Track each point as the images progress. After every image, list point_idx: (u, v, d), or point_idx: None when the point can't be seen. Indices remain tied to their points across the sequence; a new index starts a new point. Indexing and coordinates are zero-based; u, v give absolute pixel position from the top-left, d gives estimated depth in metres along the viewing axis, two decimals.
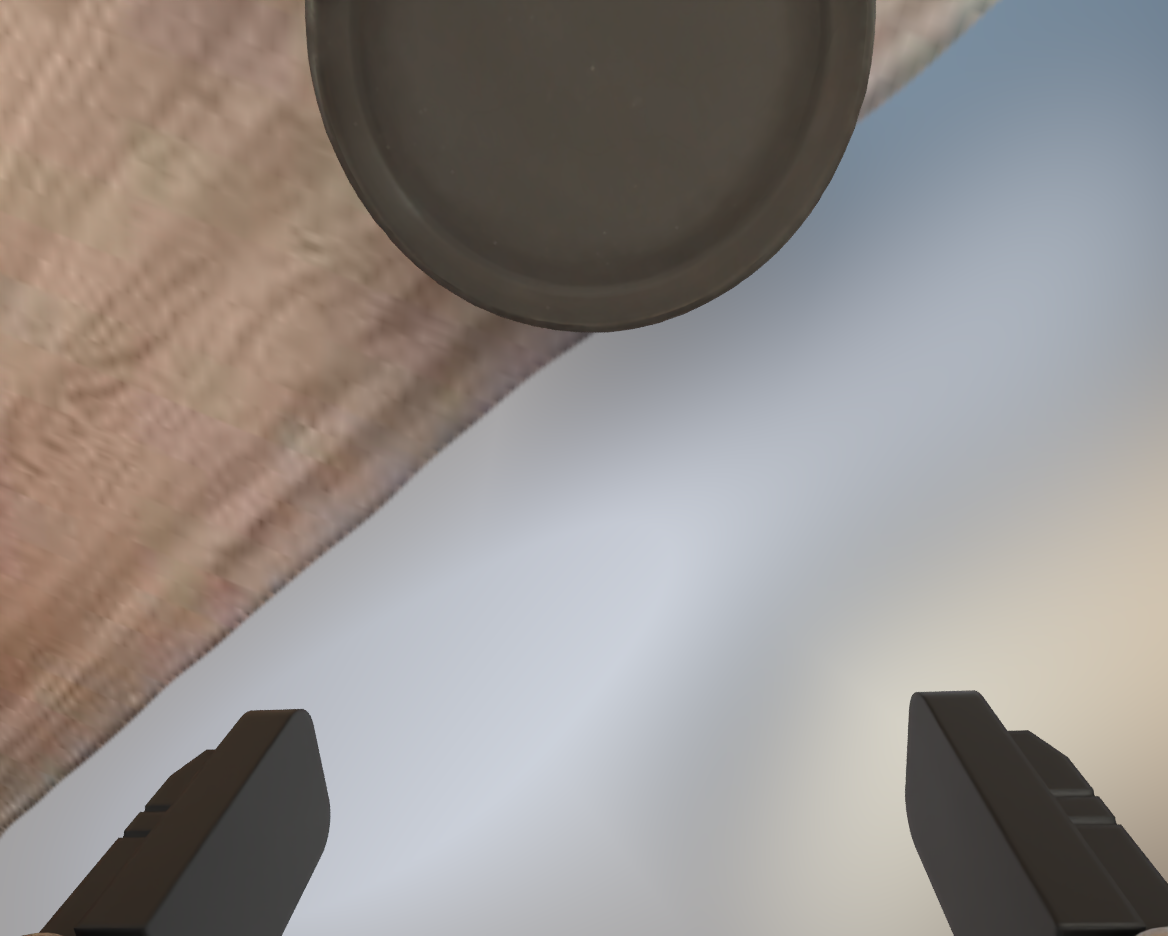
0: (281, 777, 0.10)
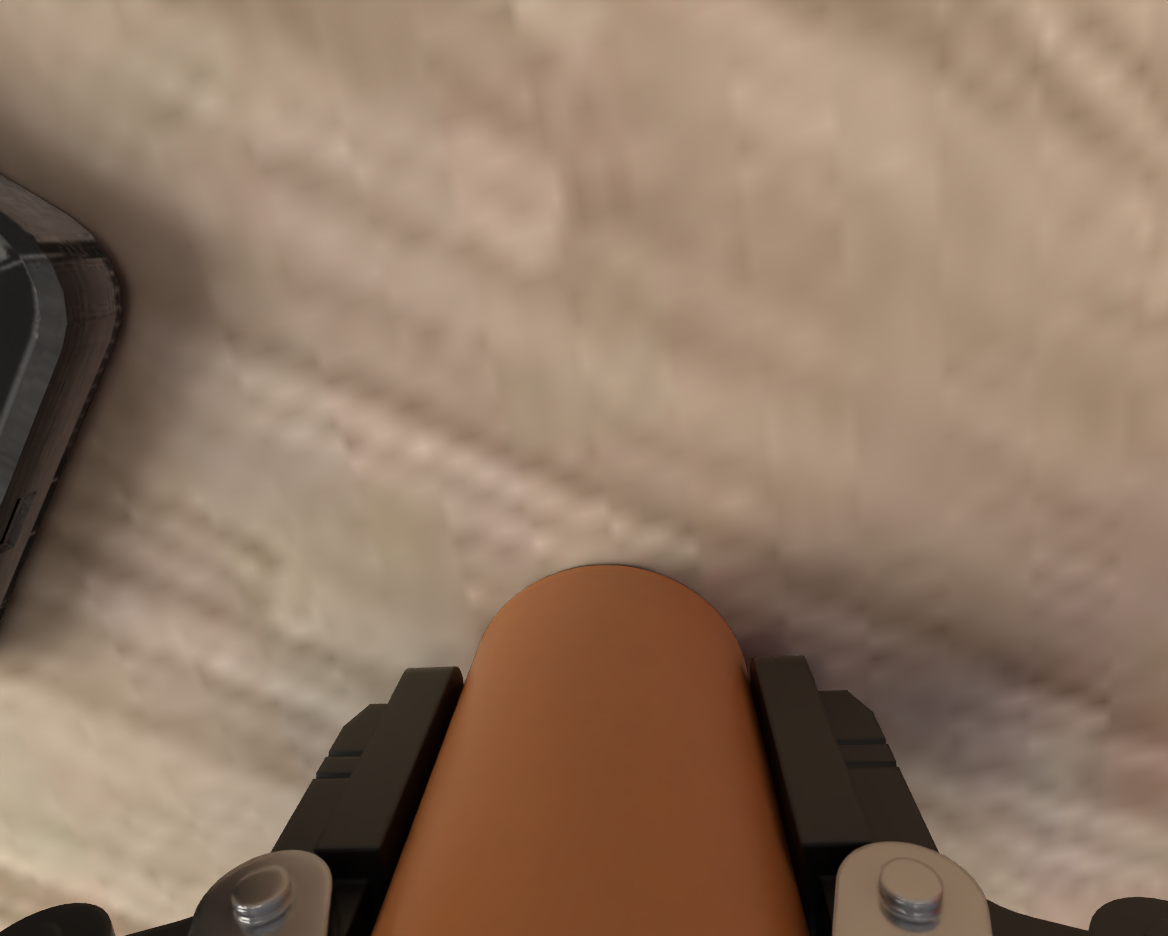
0: (447, 728, 0.11)
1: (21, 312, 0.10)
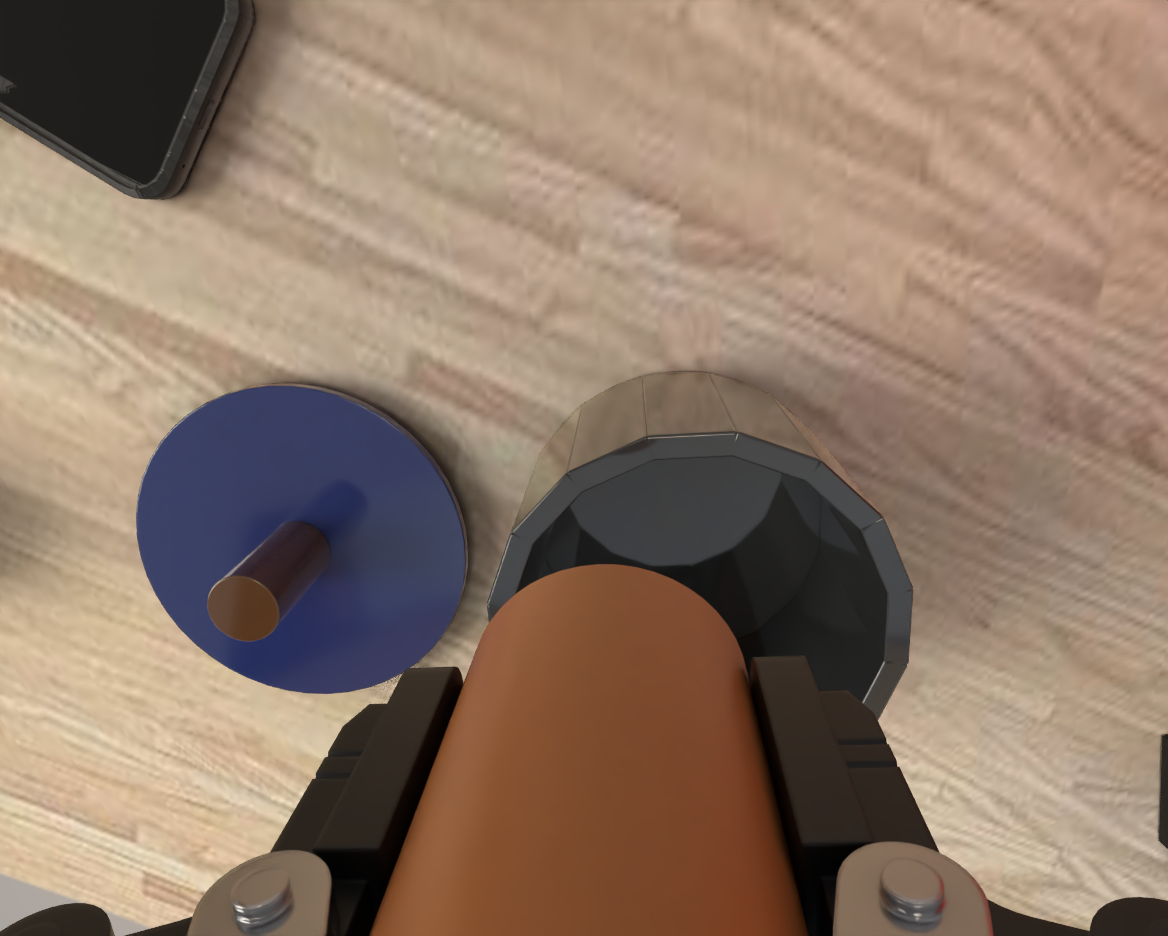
0: (446, 728, 0.11)
1: (219, 10, 0.25)
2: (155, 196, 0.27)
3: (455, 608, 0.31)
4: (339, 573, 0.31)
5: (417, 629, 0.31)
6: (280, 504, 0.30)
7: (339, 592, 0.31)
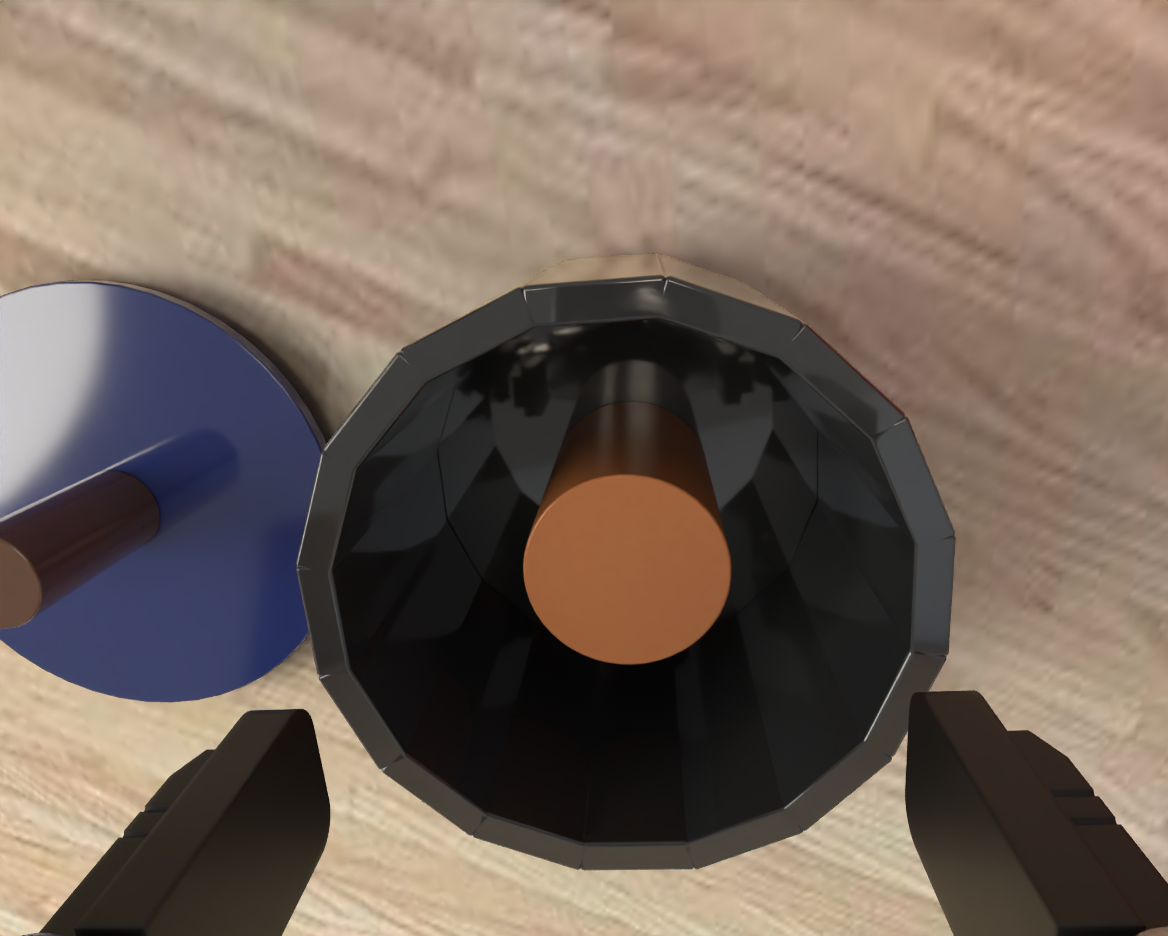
0: (281, 777, 0.10)
1: None
2: None
3: None
4: (173, 541, 0.23)
5: (281, 616, 0.24)
6: (88, 447, 0.22)
7: (175, 567, 0.23)
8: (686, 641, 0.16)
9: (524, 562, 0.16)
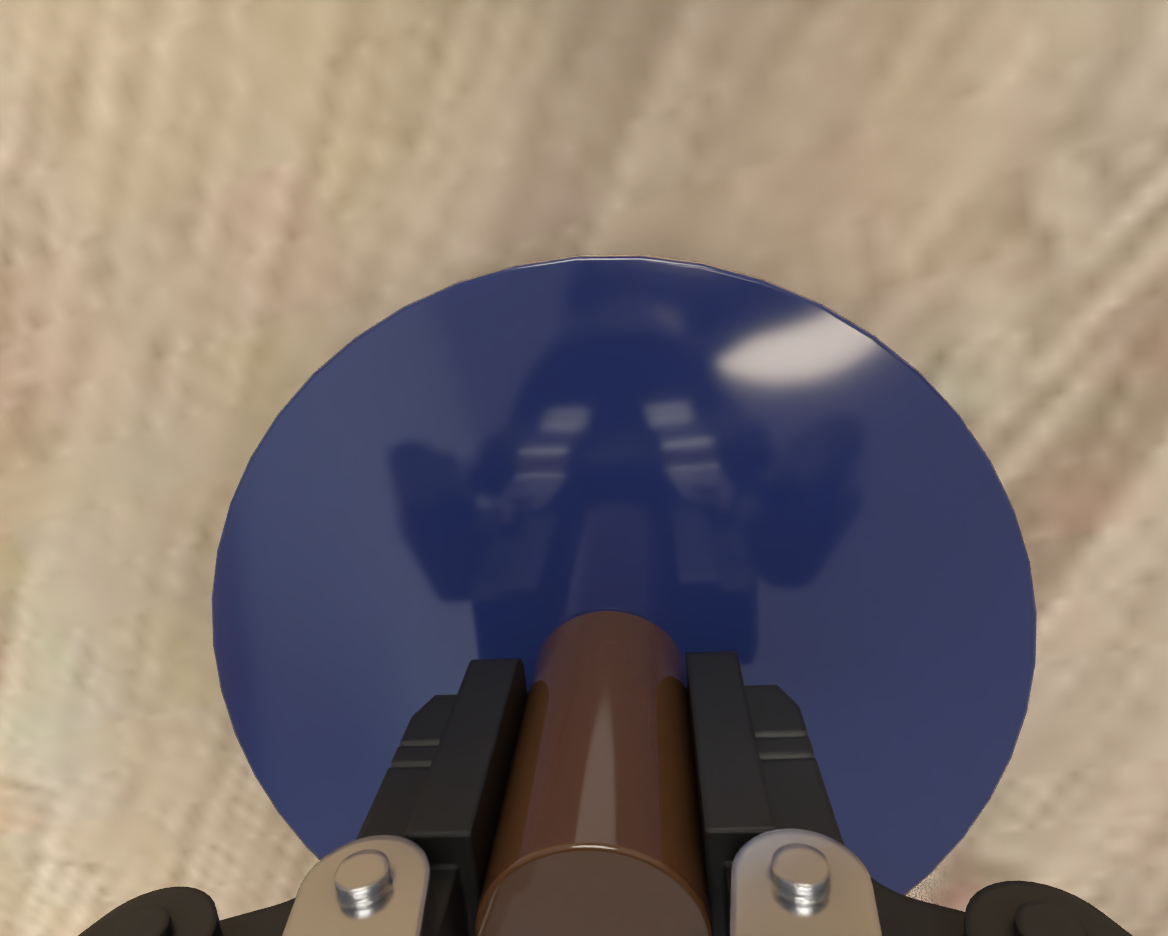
0: (514, 718, 0.11)
1: None
2: None
3: None
4: None
5: None
6: (730, 650, 0.12)
7: None
8: None
9: None
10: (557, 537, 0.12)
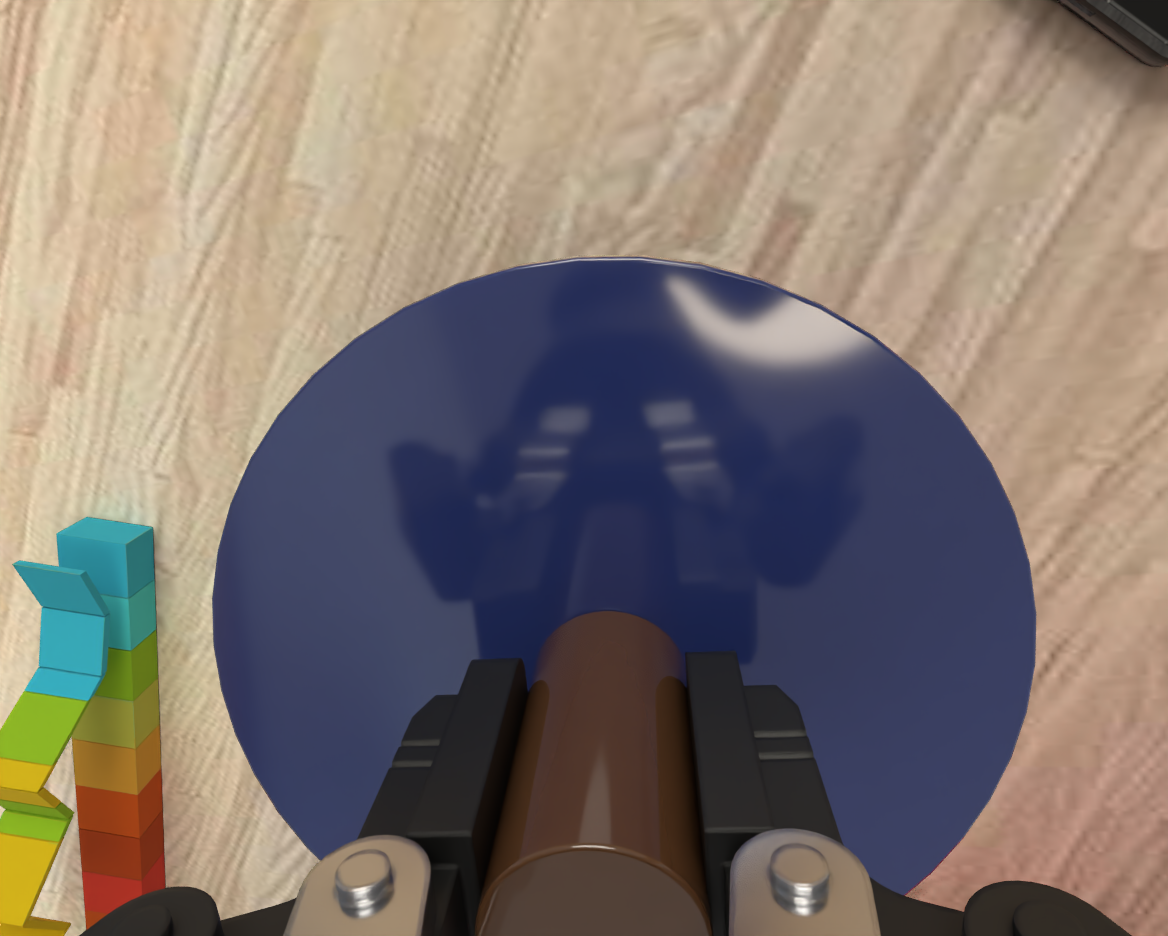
0: (515, 718, 0.11)
1: None
2: None
3: None
4: None
5: None
6: (730, 650, 0.12)
7: None
8: None
9: None
10: (557, 537, 0.12)
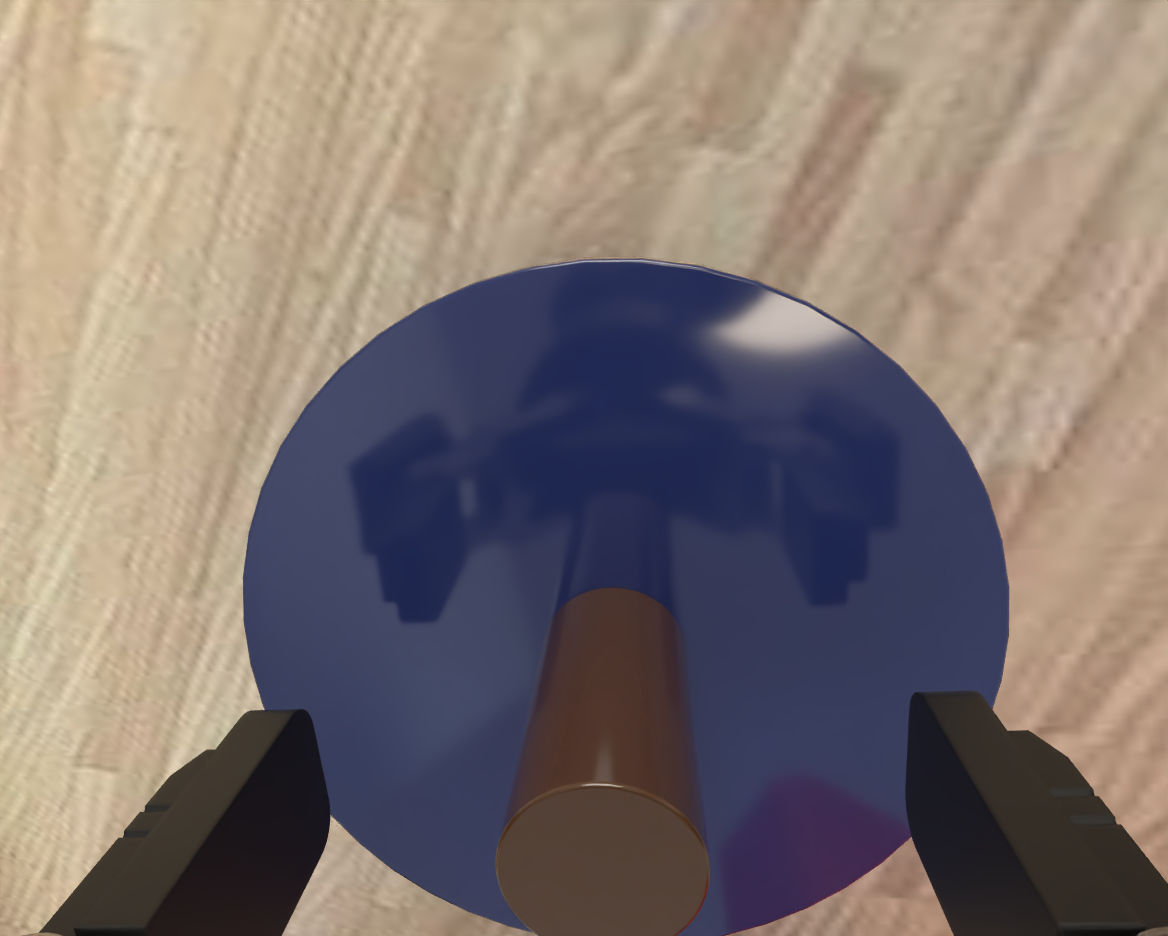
0: (281, 777, 0.10)
1: None
2: None
3: (493, 920, 0.15)
4: None
5: (438, 852, 0.15)
6: (726, 624, 0.13)
7: (513, 717, 0.14)
8: None
9: None
10: (565, 519, 0.13)
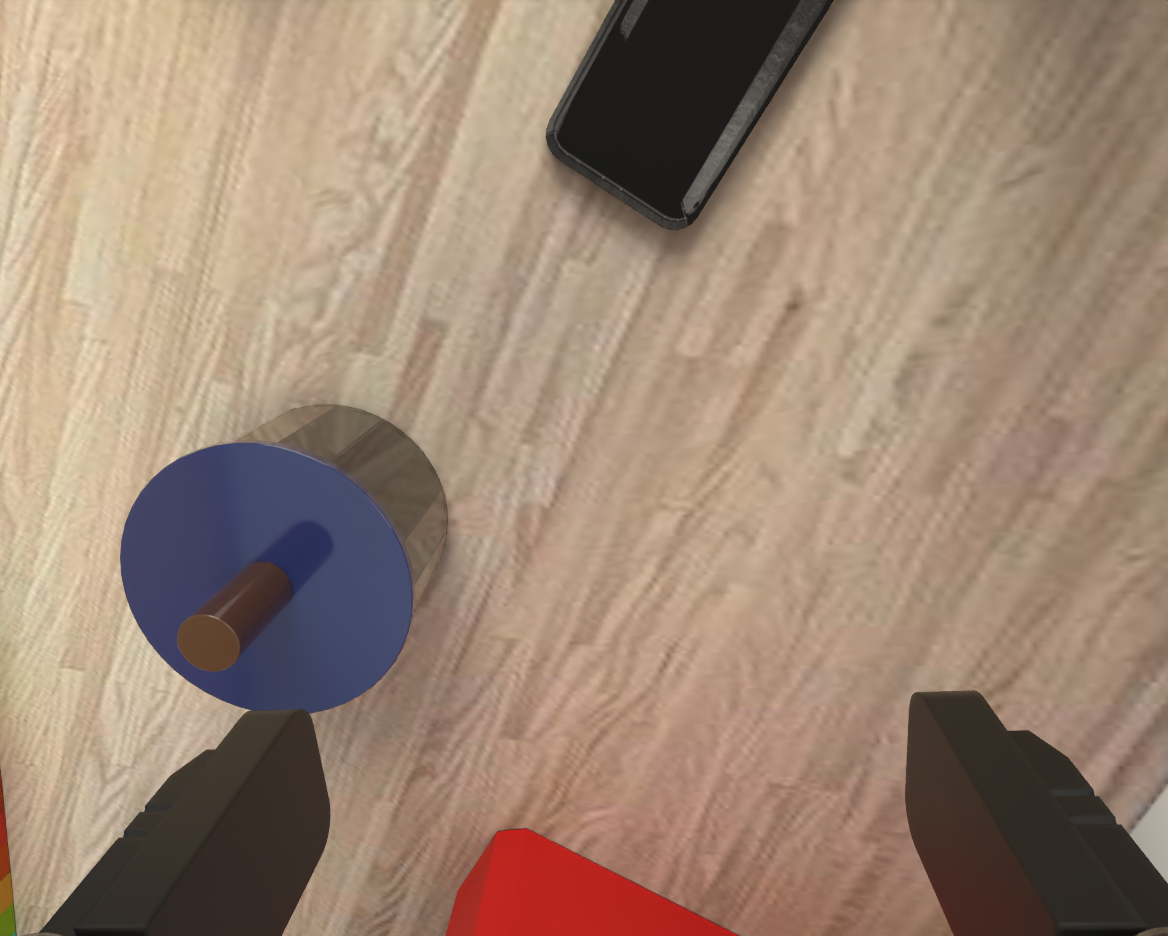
0: (281, 778, 0.10)
1: (671, 214, 0.36)
2: (548, 145, 0.35)
3: None
4: None
5: (206, 673, 0.36)
6: (306, 575, 0.34)
7: None
8: None
9: None
10: (240, 535, 0.34)
